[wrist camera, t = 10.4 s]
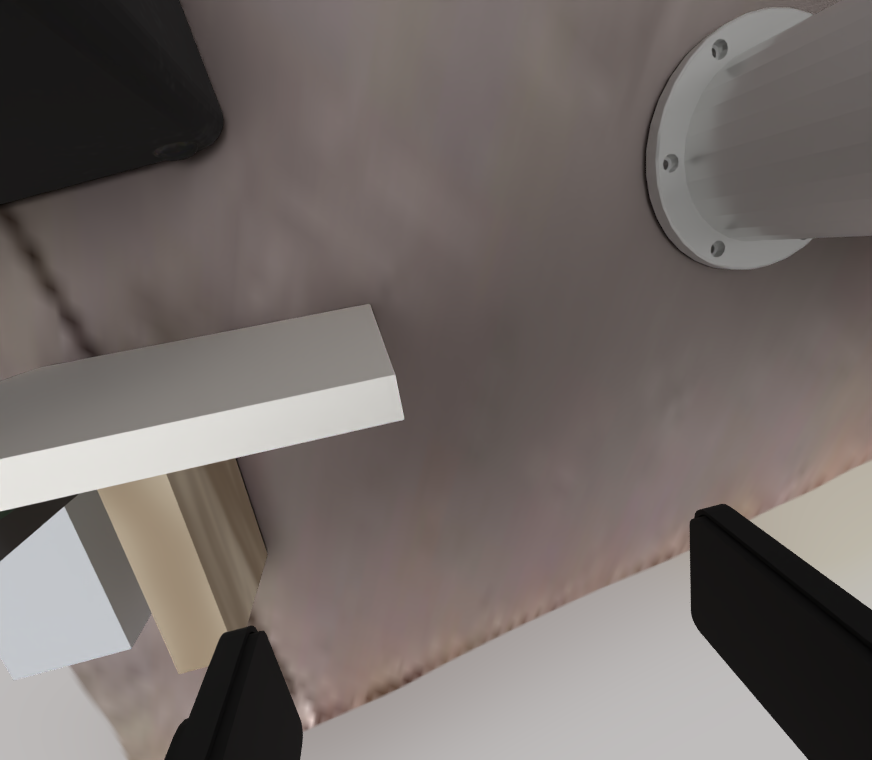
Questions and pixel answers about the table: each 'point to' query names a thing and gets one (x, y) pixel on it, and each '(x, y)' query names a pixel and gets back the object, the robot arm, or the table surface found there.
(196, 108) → the voltmeter
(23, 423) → the white board with blocks
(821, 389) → the table surface
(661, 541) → the table surface
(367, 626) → the table surface
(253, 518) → the tall beige wooden block
